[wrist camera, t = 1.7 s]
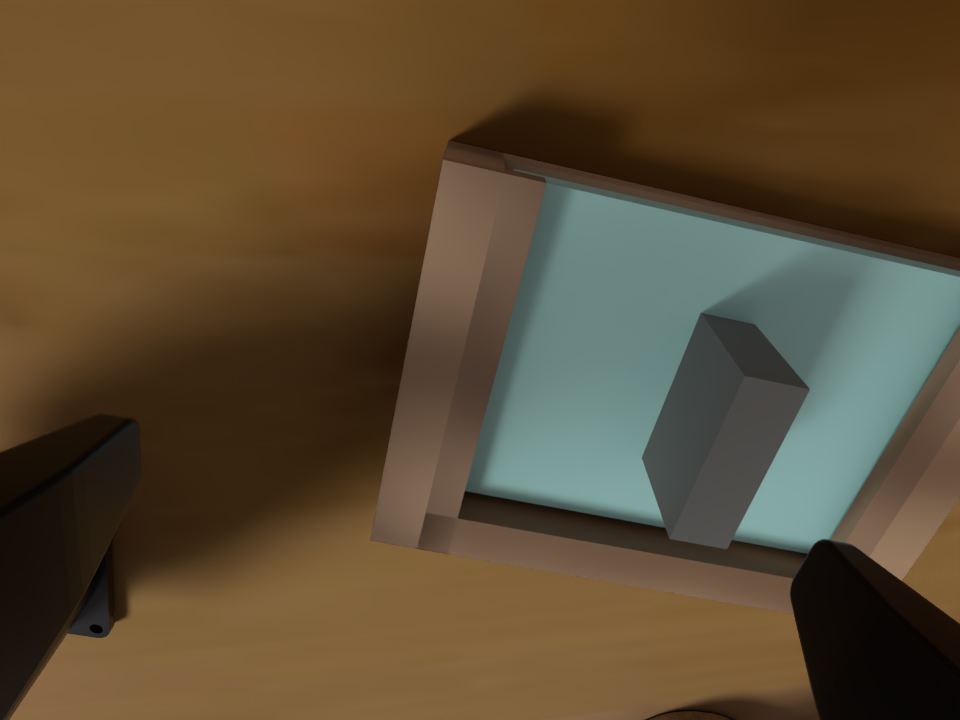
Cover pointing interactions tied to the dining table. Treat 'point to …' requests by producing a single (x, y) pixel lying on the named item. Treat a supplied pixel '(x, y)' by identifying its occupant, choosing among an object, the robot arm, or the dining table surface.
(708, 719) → the wooden pepper mill
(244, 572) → the dining table surface
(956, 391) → the wooden tray
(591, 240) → the cover plate
